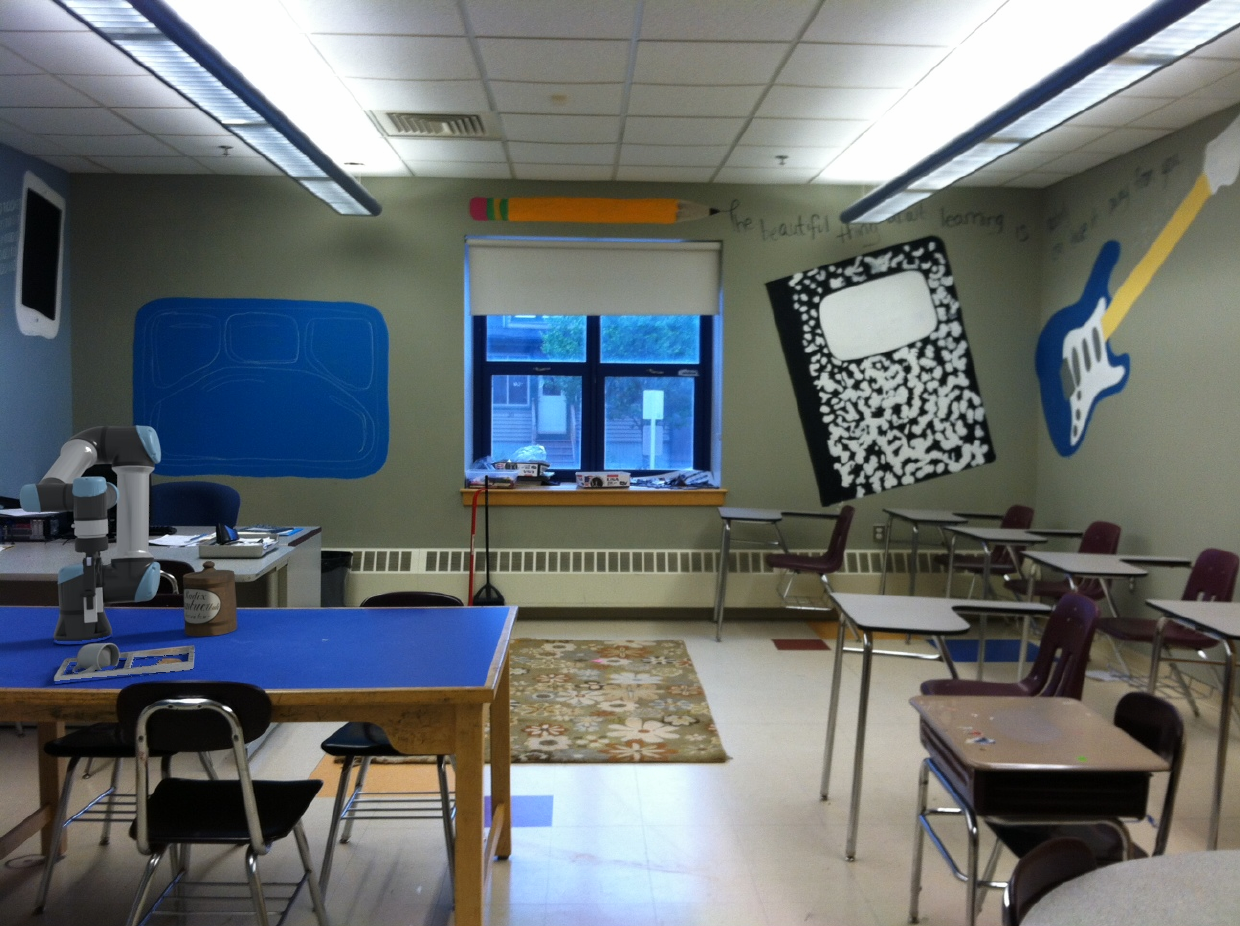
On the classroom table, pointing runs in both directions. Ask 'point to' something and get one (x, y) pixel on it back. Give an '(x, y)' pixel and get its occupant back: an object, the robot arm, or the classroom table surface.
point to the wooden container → (209, 602)
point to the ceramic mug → (97, 657)
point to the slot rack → (162, 666)
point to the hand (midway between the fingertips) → (94, 617)
